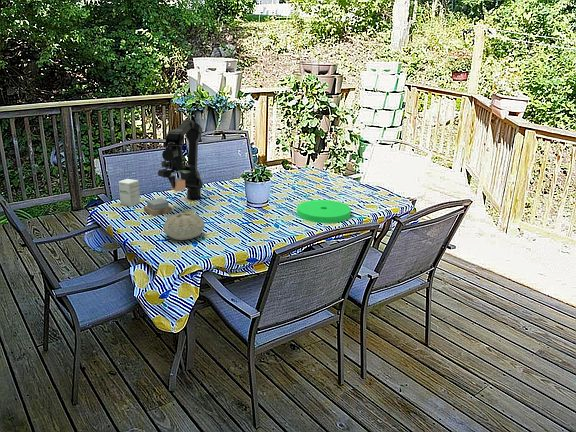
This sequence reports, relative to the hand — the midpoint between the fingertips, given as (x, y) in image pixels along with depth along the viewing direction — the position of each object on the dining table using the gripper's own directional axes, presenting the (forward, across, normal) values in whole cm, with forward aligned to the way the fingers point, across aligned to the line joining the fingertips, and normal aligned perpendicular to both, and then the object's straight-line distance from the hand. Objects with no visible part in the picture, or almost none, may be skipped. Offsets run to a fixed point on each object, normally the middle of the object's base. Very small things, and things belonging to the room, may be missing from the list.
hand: (178, 187), depth 251 cm
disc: (+13, -51, +53) cm, 74 cm away
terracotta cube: (+1, 0, 0) cm, 1 cm away
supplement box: (+12, +13, -26) cm, 32 cm away
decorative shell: (+13, +18, +31) cm, 37 cm away
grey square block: (+10, +9, -6) cm, 14 cm away
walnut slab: (+13, +9, -6) cm, 17 cm away
